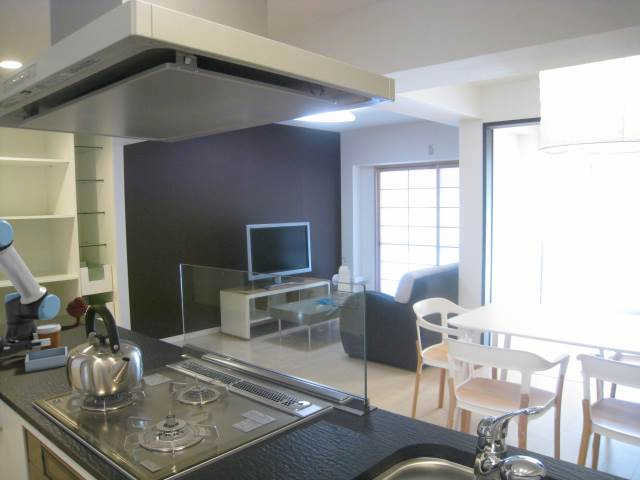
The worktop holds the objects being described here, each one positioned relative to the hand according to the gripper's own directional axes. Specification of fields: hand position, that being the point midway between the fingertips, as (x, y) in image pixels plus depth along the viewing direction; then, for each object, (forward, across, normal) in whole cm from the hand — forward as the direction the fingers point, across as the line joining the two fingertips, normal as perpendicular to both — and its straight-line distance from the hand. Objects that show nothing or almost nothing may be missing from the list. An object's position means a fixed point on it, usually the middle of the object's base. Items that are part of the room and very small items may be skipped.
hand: (50, 337), depth 214 cm
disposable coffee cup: (0, 0, -7) cm, 7 cm away
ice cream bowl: (+12, -53, -7) cm, 54 cm away
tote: (-1, +14, -7) cm, 16 cm away
